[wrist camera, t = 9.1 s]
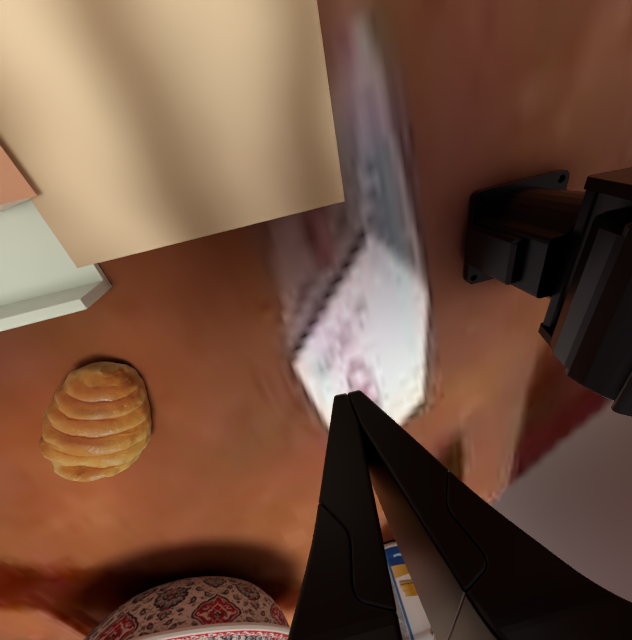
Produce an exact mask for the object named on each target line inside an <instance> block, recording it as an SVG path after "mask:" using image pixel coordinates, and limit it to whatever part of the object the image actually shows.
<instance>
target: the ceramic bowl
mask: <svg viewBox="0 0 632 640" xmlns="http://www.w3.org/2000/svg"><path fill="white" fill-rule="evenodd" d="M289 632H290V627H289V625H288V622H287V620H286V618H285V616H284V614H283V613H282V611H281V609H280V608H279V607H278V605H277V604H276V603H275V602H274V600H273V599H272V598H271V597H270V596H269V595H268V594H267V593H266V592H264V591H263V590H262V589H260V588H259V587H257V586H256V585H254V584H252V583H250V582H247V581H244V580H241V579H238V578H232V577H224V576H201V577H192V578H186V579H181V580H176V581H173V582H169V583H166V584H162V585H159V586H157V587H154V588H152V589H149V590H147V591H145V592H143V593H141V594H139V595H137V596H135V597H133V598H132V599H130V600H129V601H127V602H125V603H124V604H123V605H121V606H120V607H118V608H117V609H116V610H115V611H113V612H112V613H111V614H110V615H108V616H107V617H106V618H105V619H104V620H103V621H102V622H101V623H99V624H98V625H97V626H96V627H95V628H94V629H93V630H92V631H91V632H90V633H89V635H88V636H87V637H86V638H85V639H84V640H287V639H288V636H289Z"/></svg>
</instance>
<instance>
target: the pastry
mask: <svg viewBox="0 0 632 640" xmlns="http://www.w3.org/2000/svg"><path fill="white" fill-rule="evenodd" d="M150 412H151V411H150V405H149V401H148V397H147V392H146V388H145V385H144V381H143V380H142V378H141V377H140V376H139V375H138V373H137V371H136V370H135V369H134V368H132V367H130V366H128V365H125V364H118V363H114V362H107V361H104V362H95V363H91V364H88V365H86V366H84V367H81V368H79V369H76V370H73V371H71V372H70V373H69V375H68V377H67V378H66V380H65V382H64V384H63V385H62V386H61V387H60V388H59V389H58V390H57V391H56V393H55V396H54V399H53V401H52V403H51V404H50V406H49V407H48V409H47V410H46V411H45V413H44V417H43V420H42V427H43V436H42V437H41V439H40V440H39V446H40V449H41V452H42V455H43V457H45V458H47V459H49V460H51V461H52V463H53V466H54V472H55V473H57V474H58V475H59V476H61V477H63V478H66V479H69V480H74V481H81V482H88V481H94V480H97V479H100V478H102V477H112V476H114V475H116V474H117V473H120V472H122V471H123V470H125V469H127V468H128V467H129V466H130V465H131V464H133V463H134V462H135V461H136V460H137V459H138V458H139V457H140V455H141V452H142V450H143V449H144V448H145V447H146V446H147V444H148V442H149V441H150V439H151V424H152V421H151V415H150V414H151V413H150Z"/></svg>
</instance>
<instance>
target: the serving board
mask: <svg viewBox="0 0 632 640" xmlns="http://www.w3.org/2000/svg"><path fill="white" fill-rule="evenodd" d="M0 146H1V147H2V149H3V150H4V151H5V153H6V154H7V155H8V157H9V158H10V159H11V161H12V162H13V163H14V165H15V166H16V168H17V169H18V170H19V172H20V173H21V174H22V176H23V177H24V178H25V180H26V181H27V183H28V184H29V185H30V187H31V188H32V189H33V191H34V192H35V193H36V195H37V196H35V197H33V198H31V199H30V200H31V201H32V203H33V204H34V206H35V207H36V209H37V210H38V212H39V213H40V214H41V216H42V217H43V219H44V220H45V222H46V223H47V225H48V226H49V228H50V229H51V230H52V232H53V233H54V235H55V236H56V238H57V239H58V241H59V242H60V244H61V245H62V246H63V248H64V249H65V251H66V252H67V254H68V255H69V257H70V258H71V259H72V261H73V262H74V264H75V265H76V267H77V268H80V267H84V266H88V265H92V264H96V263H100V262H104V261H108V260H112V259H116V258H120V257H124V256H128V255H132V254H136V253H140V252H144V251H148V250H152V249H156V248H160V247H164V246H168V245H172V244H176V243H180V242H184V241H188V240H192V239H196V238H200V237H204V236H208V235H212V234H216V233H220V232H224V231H228V230H232V229H236V228H240V227H244V226H248V225H252V224H256V223H260V222H264V221H268V220H272V219H276V218H280V217H284V216H288V215H292V214H296V213H300V212H304V211H308V210H312V209H316V208H320V207H324V206H328V205H332V204H336V203H340V202H344V201H345V200H344V193H343V185H342V178H341V171H340V164H339V157H338V150H337V142H336V135H335V128H334V121H333V114H332V107H331V100H330V92H329V85H328V78H327V71H326V64H325V57H324V49H323V42H322V35H321V28H320V21H319V14H318V6H317V0H0Z"/></svg>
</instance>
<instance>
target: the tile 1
mask: <svg viewBox="0 0 632 640" xmlns="http://www.w3.org/2000/svg"><path fill="white" fill-rule="evenodd" d="M35 196H37V195H36V193H35V192H34V191H33V189H32V188H31V187H30V185H29V184H28V183H27V181H26V180H25V178H24V177H23V176H22V174H21V173H20V172H19V170H18V169H17V168H16V166H15V165H14V163H13V162H12V161H11V159H10V158H9V157H8V155H7V154H6V153H5V151H4V150H3V149H2V147H1V146H0V212H1V211H3V210H6V209H8V208H10V207H12V206H15V205H17V204H19V203H22V202H24V201H26V200H28V199H31V198H33V197H35Z"/></svg>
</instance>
